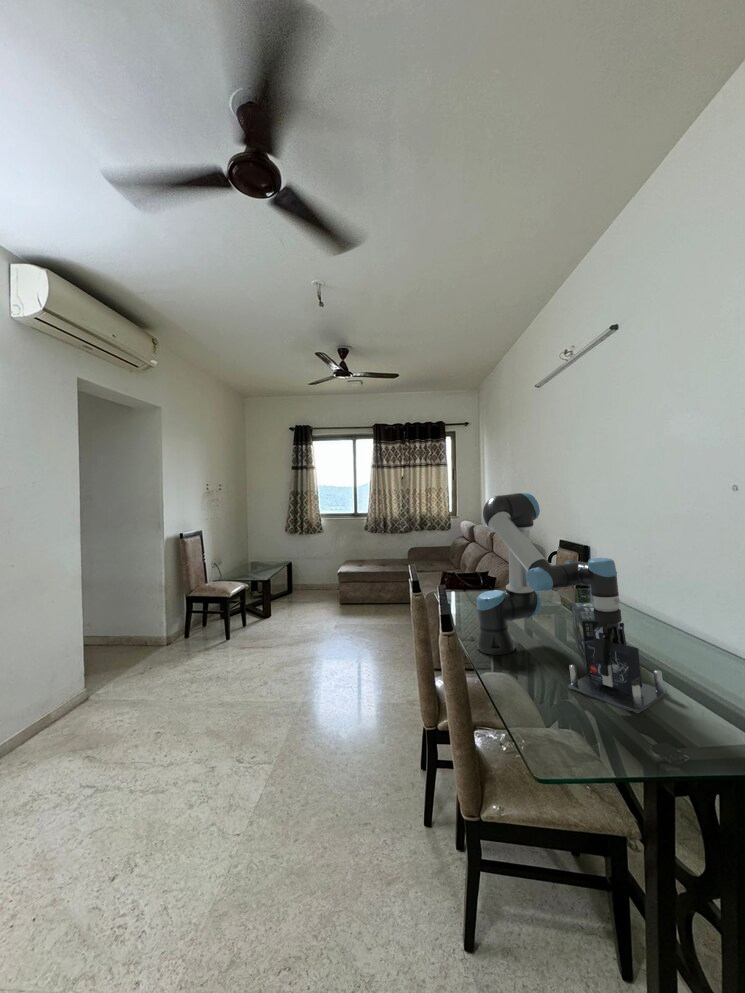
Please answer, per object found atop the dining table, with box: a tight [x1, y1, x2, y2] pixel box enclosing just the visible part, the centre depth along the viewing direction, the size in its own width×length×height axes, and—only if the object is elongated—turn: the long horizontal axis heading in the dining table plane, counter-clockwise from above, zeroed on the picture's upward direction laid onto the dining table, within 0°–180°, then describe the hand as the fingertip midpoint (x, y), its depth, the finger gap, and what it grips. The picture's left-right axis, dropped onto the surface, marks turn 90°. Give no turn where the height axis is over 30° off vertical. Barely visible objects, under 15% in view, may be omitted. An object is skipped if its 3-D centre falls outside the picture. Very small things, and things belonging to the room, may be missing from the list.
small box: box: [586, 639, 643, 694], centre depth 125 cm, size 13×7×12 cm, turn 30°
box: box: [571, 601, 609, 674], centre depth 148 cm, size 23×10×19 cm, turn 162°
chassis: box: [568, 664, 668, 714], centre depth 124 cm, size 21×17×7 cm
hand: (614, 681), depth 124 cm, fingers closed on small box, 7 cm apart
